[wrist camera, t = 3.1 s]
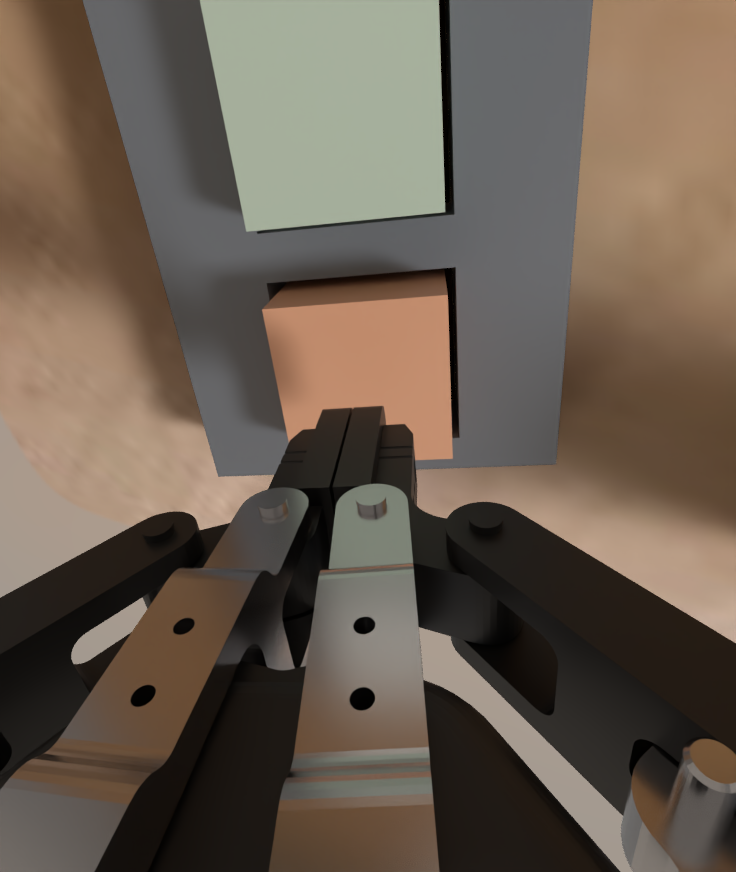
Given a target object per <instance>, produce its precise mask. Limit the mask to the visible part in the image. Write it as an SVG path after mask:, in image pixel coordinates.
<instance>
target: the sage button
mask: <svg viewBox="0 0 736 872" xmlns="http://www.w3.org/2000/svg"><path fill="white" fill-rule="evenodd" d="M200 4H201V9H202V14H203V19H204V24H205V29H206V34H207V39H208V44H209V49H210V54H211V59H212V64H213V69H214V74H215V79H216V84H217V89H218V94H219V99H220V103H221V108H222V113H223V118H224V123H225V128H226V133H227V138H228V143H229V148H230V153H231V158H232V163H233V168H234V173H235V178H236V183H237V188H238V193H239V198H240V203H241V208H242V213H243V218H244V223H245V228H246V232H249V231H260V230H270V229H280V228H290V227H300V226H310V225H320V224H330V223H341V222H351V221H361V220H371V219H381V218H391V217H401V216H412V215H422V214H432V213H442V212H445V186H444V154H443V121H442V88H441V55H440V23H439V0H200Z"/></svg>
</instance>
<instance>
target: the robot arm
mask: <svg viewBox="0 0 736 872" xmlns="http://www.w3.org/2000/svg"><path fill="white" fill-rule="evenodd" d="M142 597H143V599H144V601H145V604H146V606H147V611H146V612H145V614H144V615H143V617H142V618H141V620H140V621H139V623H138V624H137V625H136V627H135V628H134V630H133V631H132V632H131V633H130V634H128V635H127V636H125V637H124V638H122V639H121V640H119V641H118V642H116V643H115V644H113V645H112V646H110V647H109V648H107V649H106V650H104V651H103V652H102V653H100V654H98V655H97V656H95V657H94V658H92V659H91V660H89V661H87V662H85V663H82V664H73V662H72V660H71V652H72V649H73V647H74V645H75V643H76V642H77V641H78V639H79V638H80V637H81V636H82V635H83V634H85V633H86V632H88V631H89V630H91V629H93V628H94V627H96V626H97V625H99V624H101V623H102V622H104V621H105V620H107V619H109V618H110V617H112V616H113V615H115V614H116V613H118V612H120V611H121V610H123V609H124V608H126V607H127V606H129V605H131V604H132V603H134V602H135V601H137V600H138V599H140V598H142ZM419 627H421V628H424V629H428V630H431V631H435V632H438V633H442V634H445V635H449V636H451V641H452V644H453V646H454V648H455V650H456V651H457V652H458V653H459V654H460V656H462V657H463V658H464V659H465V660H466V661H467V662H468V663H469V664H470V665H471V666H472V667H473V668H474V669H475V670H476V671H477V672H478V673H479V674H480V675H481V676H482V677H483V678H484V679H485V680H486V681H487V682H488V683H489V684H490V685H491V686H492V687H493V688H494V689H495V690H496V691H497V692H498V693H499V694H500V695H501V696H502V697H503V698H504V699H505V700H506V701H507V702H508V703H509V704H510V705H511V706H512V707H513V708H514V709H515V710H516V711H517V712H518V713H519V714H520V715H521V716H522V717H523V718H524V719H525V720H526V721H527V722H528V723H529V724H530V725H532V727H533V728H534V729H536V731H538V732H539V733H540V734H541V735H542V736H543V737H544V738H545V739H546V740H547V741H548V742H549V743H550V744H551V745H552V746H553V747H554V748H555V749H556V750H557V751H558V752H559V753H560V754H561V755H562V756H563V757H564V758H565V759H566V760H567V761H568V762H569V763H570V764H571V765H572V766H573V767H574V768H575V769H576V770H577V771H578V772H579V773H580V774H581V775H582V776H583V777H584V778H585V779H586V780H587V781H588V782H589V783H590V784H591V785H592V786H593V787H594V788H595V789H596V790H597V791H598V792H599V793H600V794H601V795H602V796H603V797H604V798H605V799H606V800H607V801H608V802H609V803H610V804H612V806H613V807H615V808H616V809H617V810H618V811H619V812H620V813H621V814H622V815H623V821H622V825H621V838H622V845H623V849H624V852H625V856H626V858H627V861H628V863H629V865H630V867H631V869H632V871H633V872H736V643H734V642H732V641H731V640H729V639H727V638H726V637H724V636H723V635H721V634H719V633H718V632H716V631H714V630H713V629H711V628H709V627H708V626H706V625H704V624H703V623H701V622H699V621H698V620H696V619H694V618H693V617H691V616H689V615H688V614H686V613H684V612H683V611H681V610H679V609H678V608H676V607H675V606H673V605H671V604H670V603H668V602H666V601H665V600H663V599H661V598H660V597H658V596H656V595H655V594H653V593H651V592H650V591H648V590H646V589H645V588H643V587H641V586H640V585H638V584H636V583H635V582H633V581H631V580H630V579H628V578H626V577H625V576H623V575H622V574H620V573H618V572H617V571H615V570H613V569H612V568H610V567H608V566H607V565H605V564H603V563H602V562H600V561H598V560H597V559H595V558H593V557H592V556H590V555H588V554H587V553H585V552H583V551H582V550H580V549H578V548H577V547H575V546H574V545H572V544H570V543H569V542H567V541H565V540H564V539H562V538H560V537H559V536H557V535H555V534H554V533H552V532H550V531H549V530H547V529H545V528H544V527H542V526H540V525H539V524H537V523H535V522H534V521H532V520H530V519H529V518H527V517H526V516H524V515H522V514H521V513H519V512H517V511H516V510H514V509H512V508H510V507H508V506H505V505H502V504H498V503H492V502H476V503H471V504H467V505H464V506H462V507H459V508H458V509H456V510H454V511H453V512H452V513H451V514H450V515H449V517H448V518H447V519H446V518H440V517H436V516H433V515H430V514H428V513H426V512H424V511H422V510H421V509H419V508H418V507H417V477H416V464H415V451H414V438H413V433H412V432H411V431H410V429H409V428H408V427H407V426H406V425H405V424H394V425H386V418H385V411H384V406H369V407H354V408H337V409H323V410H322V412H321V415H320V417H319V420H318V422H317V425H316V428H315V429H303V430H302V431H301V432H299V433H298V434H297V435H296V436H295V437H293V438H292V439H291V440H290V442H289V444H288V446H287V448H286V451H285V454H284V455H283V457H282V459H281V464H279V466H278V468H277V471H276V473H275V475H274V477H273V480H272V482H271V484H270V486H269V488H268V490H265V491H262V492H260V493H257V494H255V495H253V496H252V497H250V498H249V499H247V500H246V501H245V502H244V503H243V504H242V506H241V507H240V509H239V510H238V512H237V513H236V515H235V517H234V518H233V520H232V521H231V523H228V524H224V525H220V526H216V527H212V528H208V529H204V530H199V527H198V524H197V521H196V519H195V518H194V517H193V516H192V515H190V514H188V513H185V512H167V513H162V514H158V515H155V516H152V517H150V518H148V519H146V520H144V521H142V522H140V523H138V524H136V525H134V526H132V527H131V528H129V529H127V530H125V531H123V532H121V533H119V534H118V535H116V536H114V537H112V538H110V539H108V540H106V541H105V542H103V543H101V544H99V545H97V546H95V547H94V548H92V549H90V550H88V551H86V552H84V553H82V554H81V555H79V556H77V557H75V558H73V559H71V560H69V561H68V562H66V563H64V564H62V565H61V566H58V567H56V568H55V569H53V570H51V571H49V572H47V573H45V574H43V575H42V576H40V577H38V578H36V579H34V580H32V581H31V582H29V583H27V584H25V585H23V586H21V587H19V588H18V589H16V590H14V591H12V592H10V593H8V594H6V595H5V596H3V597H1V598H0V872H620V871H619V870H618V869H617V867H616V866H615V865H614V864H613V863H612V862H611V861H610V859H609V858H608V857H607V856H606V855H605V854H604V853H603V851H602V850H601V849H600V848H599V847H598V846H597V845H596V843H595V842H594V841H593V840H592V839H591V838H590V837H589V835H588V834H587V833H586V832H585V831H584V830H583V829H582V827H581V826H580V825H579V824H578V823H577V822H576V821H575V820H574V818H573V817H572V816H571V815H570V814H569V813H568V812H567V810H566V809H565V808H564V807H563V806H562V805H561V804H560V802H559V801H558V800H557V799H556V798H555V797H554V796H553V794H552V793H551V792H550V791H549V790H548V789H547V788H546V786H545V785H544V784H543V783H542V782H541V781H540V780H539V778H538V777H537V776H536V775H535V774H534V773H533V772H532V770H531V769H530V768H529V767H528V766H527V765H526V764H525V762H524V761H523V760H522V759H521V758H520V757H519V756H518V754H517V753H516V752H515V751H514V750H513V749H512V748H511V747H510V745H509V744H508V743H507V742H506V741H505V740H504V739H503V737H502V736H501V735H500V734H499V733H498V732H497V731H496V729H494V727H493V726H492V725H491V724H490V723H489V722H488V721H487V720H486V718H485V717H484V716H482V715H481V714H480V713H479V712H478V711H477V710H476V709H475V708H473V707H472V706H471V705H470V704H468V703H467V702H465V701H464V700H462V699H461V698H460V697H458V696H457V695H455V694H454V693H452V692H450V691H448V690H446V689H444V688H442V687H440V686H438V685H435V684H433V683H430V682H427V681H425V680H423V669H422V658H421V646H420V635H419Z"/></svg>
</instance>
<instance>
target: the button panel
mask: <svg viewBox="0 0 736 872" xmlns="http://www.w3.org/2000/svg"><path fill="white" fill-rule="evenodd" d="M83 4H84V7H85V11H86V14H87V18H88V21H89V25H90V28H91V32H92V35H93V39H94V42H95V46H96V49H97V53H98V56H99V60H100V63H101V67H102V70H103V74H104V77H105V81H106V84H107V88H108V91H109V95H110V98H111V102H112V105H113V109H114V112H115V116H116V119H117V123H118V126H119V130H120V133H121V137H122V140H123V144H124V147H125V151H126V154H127V158H128V161H129V165H130V168H131V172H132V175H133V179H134V182H135V186H136V189H137V193H138V196H139V200H140V203H141V207H142V210H143V214H144V217H145V221H146V224H147V228H148V231H149V235H150V238H151V242H152V245H153V249H154V252H155V256H156V259H157V263H158V266H159V270H160V273H161V277H162V280H163V284H164V287H165V291H166V294H167V298H168V301H169V305H170V309H171V312H172V316H173V319H174V323H175V326H176V330H177V333H178V337H179V340H180V344H181V347H182V351H183V354H184V358H185V361H186V365H187V368H188V372H189V375H190V379H191V382H192V386H193V389H194V393H195V396H196V400H197V403H198V407H199V410H200V414H201V417H202V421H203V424H204V428H205V431H206V435H207V438H208V442H209V445H210V449H211V452H212V456H213V459H214V463H215V466H216V470H217V473H218V477H221V476H249V475H275V473H276V471H277V468H278V466H279V464H281V459H282V457H283V455H284V454H285V451H286V448H287V446H288V444H289V441H288V436H287V431H286V426H285V421H284V416H283V411H282V406H281V401H280V396H279V391H278V386H277V381H276V376H275V371H274V367H273V362H272V357H271V352H270V347H269V342H268V337H267V332H266V327H265V322H264V317H263V312H262V309H263V308H264V307H265V306H266V305H267V304H268V303H269V301H270V300H271V299H272V298H273V297H274V296H275V295H276V294H277V293H278V292H279V291H280V290H281V289H282V288H283V287H284V286H285V284H286V283H287V282H289V281H300V280H311V279H323V278H335V277H347V276H358V275H370V274H382V273H394V272H405V271H417V270H429V269H441V268H452V296H453V334H454V372H455V399H454V400H451V416H452V448H453V459H433V460H415V464H416V469H443V468H470V467H498V466H526V465H553V464H556V458H557V445H558V432H559V420H560V407H561V395H562V382H563V370H564V357H565V345H566V332H567V319H568V307H569V294H570V282H571V269H572V257H573V244H574V232H575V219H576V206H577V194H578V181H579V169H580V156H581V144H582V131H583V119H584V106H585V94H586V81H587V68H588V56H589V43H590V31H591V18H592V6H593V0H445V30H446V68H447V106H448V144H449V182H450V203H445V212H442V213H432V214H422V215H412V216H401V217H391V218H381V219H371V220H361V221H351V222H341V223H330V224H320V225H310V226H300V227H290V228H280V229H270V230H260V231H249V232H246V228H245V223H244V218H243V213H242V208H241V203H240V198H239V193H238V188H237V183H236V178H235V173H234V168H233V163H232V158H231V153H230V148H229V143H228V138H227V133H226V128H225V123H224V118H223V113H222V108H221V103H220V99H219V94H218V89H217V84H216V79H215V74H214V69H213V64H212V59H211V54H210V49H209V44H208V39H207V34H206V29H205V24H204V19H203V14H202V9H201V4H200V0H83Z"/></svg>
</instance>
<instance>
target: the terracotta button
mask: <svg viewBox="0 0 736 872" xmlns="http://www.w3.org/2000/svg"><path fill="white" fill-rule="evenodd" d="M262 312H263V317H264V322H265V327H266V332H267V337H268V342H269V347H270V352H271V357H272V362H273V367H274V371H275V376H276V381H277V386H278V391H279V396H280V401H281V406H282V411H283V416H284V421H285V426H286V431H287V436H288V441H289V442H290V440H291V439H292V438H293V437H295V436H296V435H297V434H298V433H299V432H301V431H302V430H303V429H315V428H316V425H317V422H318V420H319V417H320V415H321V412H322V410H323V409H337V408H354V407H369V406H384V411H385V418H386V425H394V424H405V425H406V426H407V427H408V428H409V429H410V431H411V432H412V433H413V438H414V451H415V460H433V459H453V448H452V416H451V383H450V350H449V317H448V293H447V286H446V279H445V272H444V268H441V269H430V270H418V271H406V272H394V273H383V274H371V275H359V276H347V277H336V278H324V279H312V280H300V281H289V282H287V283H286V284H285V286H284V287H283V288H282V289H281V290H280V291H279V292H278V293H277V294H276V295H275V296H274V297H273V298H272V299H271V300H270V301H269V303H268V304H267V305H266V306H265V307H264V308H263V309H262Z"/></svg>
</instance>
